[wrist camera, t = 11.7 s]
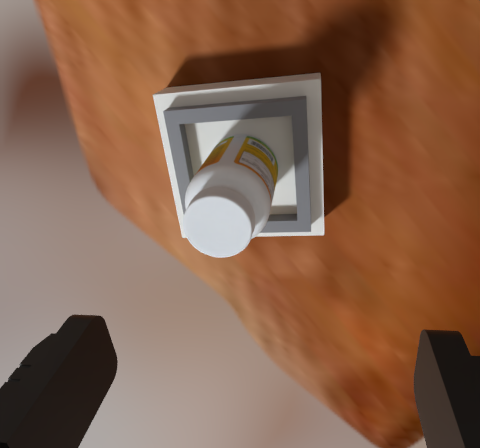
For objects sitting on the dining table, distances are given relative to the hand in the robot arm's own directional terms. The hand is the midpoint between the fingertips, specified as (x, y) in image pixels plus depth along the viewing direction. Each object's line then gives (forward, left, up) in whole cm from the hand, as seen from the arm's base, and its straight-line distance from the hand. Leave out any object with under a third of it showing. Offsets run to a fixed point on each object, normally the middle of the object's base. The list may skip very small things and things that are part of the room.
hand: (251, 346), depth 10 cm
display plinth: (+3, -4, -24) cm, 25 cm away
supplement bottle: (+3, -4, -22) cm, 22 cm away
